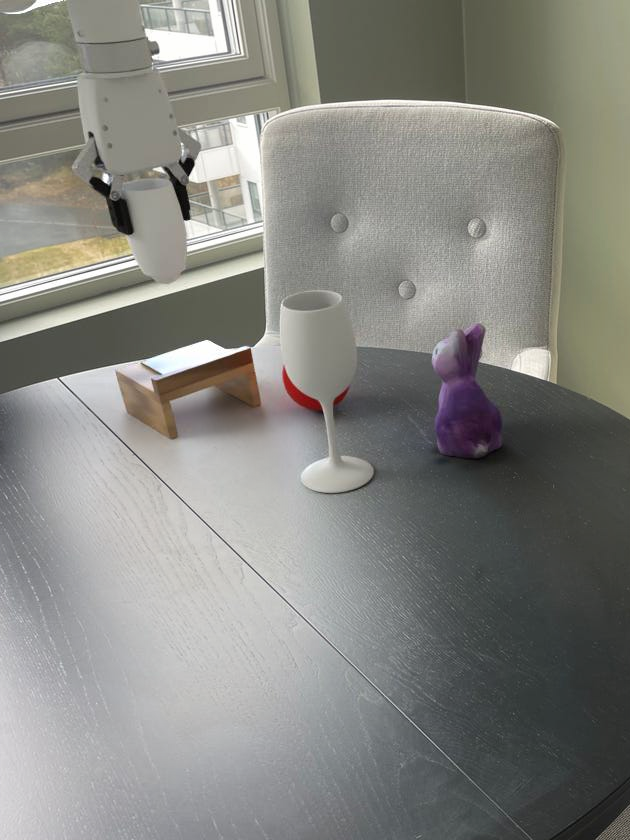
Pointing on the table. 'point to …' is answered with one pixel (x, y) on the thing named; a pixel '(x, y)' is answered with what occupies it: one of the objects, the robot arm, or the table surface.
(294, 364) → the wineglass
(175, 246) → the cup
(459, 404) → the figurine
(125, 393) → the stand
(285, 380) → the ornament
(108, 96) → the robot arm
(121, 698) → the table surface
